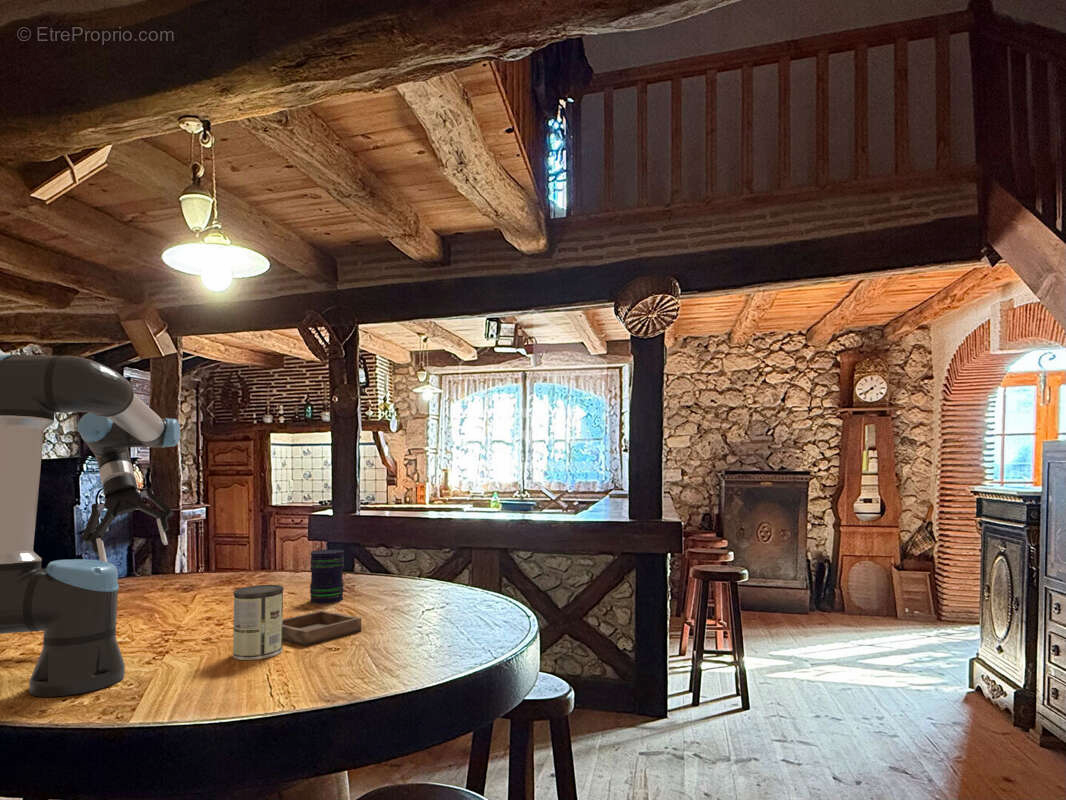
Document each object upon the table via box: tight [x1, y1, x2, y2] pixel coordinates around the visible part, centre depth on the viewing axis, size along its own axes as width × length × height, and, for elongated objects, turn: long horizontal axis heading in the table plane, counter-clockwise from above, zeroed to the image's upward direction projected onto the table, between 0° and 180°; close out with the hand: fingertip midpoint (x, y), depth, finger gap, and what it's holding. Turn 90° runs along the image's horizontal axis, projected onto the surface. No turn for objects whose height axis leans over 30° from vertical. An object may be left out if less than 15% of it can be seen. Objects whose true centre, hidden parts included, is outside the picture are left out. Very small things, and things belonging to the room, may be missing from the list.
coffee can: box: [232, 584, 284, 661], centre depth 144 cm, size 10×10×14 cm
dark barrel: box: [309, 548, 345, 605], centre depth 200 cm, size 10×10×15 cm
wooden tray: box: [282, 609, 362, 647], centre depth 160 cm, size 16×16×3 cm
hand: (135, 553), depth 162 cm, fingers open, 13 cm apart
